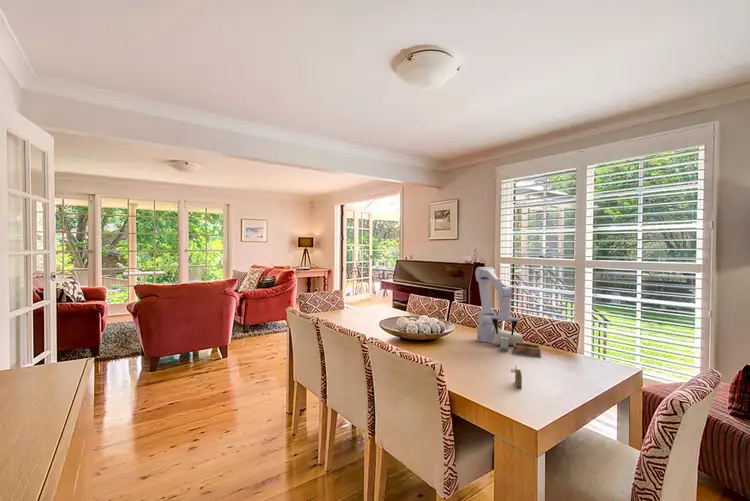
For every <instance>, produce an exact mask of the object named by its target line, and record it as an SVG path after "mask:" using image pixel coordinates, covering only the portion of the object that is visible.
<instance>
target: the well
mask: <svg viewBox="0 0 750 501" xmlns="http://www.w3.org/2000/svg"><path fill="white" fill-rule="evenodd" d="M512 346H513V348H512V350H513V352H514V353H522V354H529V355H537V356H540V351H541V345H540V344H536V343H535V344H534V343H525V342H522V343H519V342H514V345H512Z"/></svg>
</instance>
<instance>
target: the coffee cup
mask: <svg viewBox="0 0 750 501" xmlns="http://www.w3.org/2000/svg"><path fill="white" fill-rule="evenodd" d="M511 333H512V331H509V330H505V329H501V328H499V327H498V334H496V330H495V328H494V330H493V331H492V342H493V343H492V344H494V345H496V346H500V338H501V337H507V338H509V346H514V342H519V343H523V341H524V340H523V335H522V333H518V332H513V336H512V335H511Z"/></svg>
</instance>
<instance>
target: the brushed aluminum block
mask: <svg viewBox="0 0 750 501" xmlns="http://www.w3.org/2000/svg"><path fill="white" fill-rule="evenodd" d="M509 347H510V345H509V338H507V337H501V338H500V345H499V351H500V352H507V353H508V352H509V349H510V348H509Z"/></svg>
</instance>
